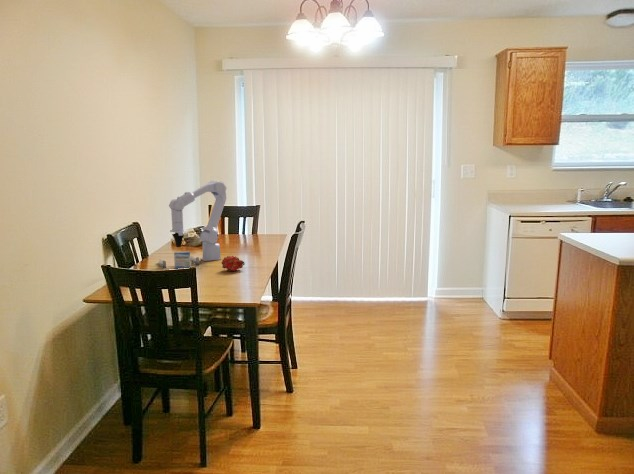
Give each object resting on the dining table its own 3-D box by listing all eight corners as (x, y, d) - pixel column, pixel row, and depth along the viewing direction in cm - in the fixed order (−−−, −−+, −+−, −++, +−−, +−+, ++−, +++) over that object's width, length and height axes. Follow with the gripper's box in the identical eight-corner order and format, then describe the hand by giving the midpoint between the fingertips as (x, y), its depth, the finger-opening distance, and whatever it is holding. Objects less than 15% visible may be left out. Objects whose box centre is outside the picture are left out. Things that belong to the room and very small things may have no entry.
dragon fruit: (220, 273, 257) (243, 276, 258) (218, 266, 250) (242, 270, 250) (223, 258, 261) (246, 261, 262) (222, 251, 254) (245, 255, 254)
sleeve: (192, 259, 281) (192, 252, 280) (199, 265, 268) (199, 257, 267) (158, 263, 272) (157, 255, 272) (163, 268, 259) (162, 261, 259)
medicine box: (174, 269, 258) (174, 253, 257) (174, 267, 262) (173, 251, 261) (190, 268, 260) (189, 252, 259) (190, 266, 265) (189, 250, 263)
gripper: (166, 220, 271) (168, 245, 274) (172, 224, 258) (174, 250, 261) (180, 219, 274) (181, 244, 277) (186, 223, 262) (187, 248, 264)
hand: (178, 246), depth 269 cm, fingers closed
